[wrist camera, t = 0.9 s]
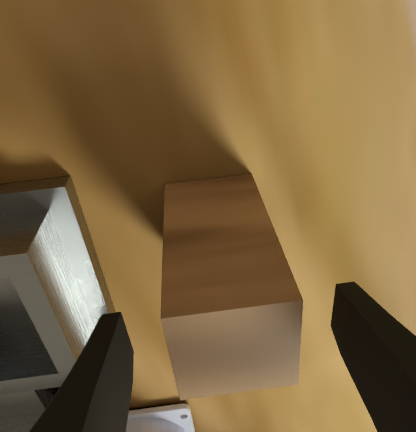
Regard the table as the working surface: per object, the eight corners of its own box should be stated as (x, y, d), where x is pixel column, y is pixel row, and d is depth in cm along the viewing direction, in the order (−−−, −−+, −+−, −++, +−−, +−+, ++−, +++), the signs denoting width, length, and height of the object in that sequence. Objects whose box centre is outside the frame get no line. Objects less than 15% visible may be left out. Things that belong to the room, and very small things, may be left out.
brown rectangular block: (254, 242, 19) (297, 384, 13) (176, 252, 19) (180, 400, 13) (251, 173, 17) (302, 300, 10) (164, 184, 17) (160, 318, 10)
